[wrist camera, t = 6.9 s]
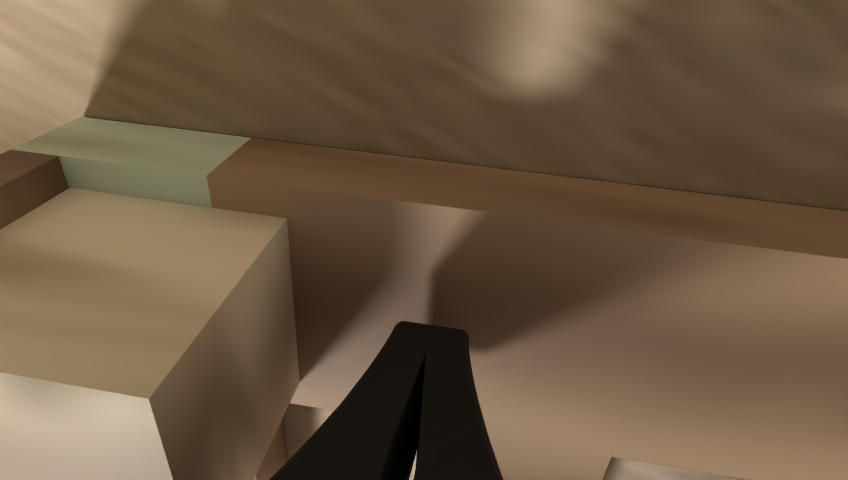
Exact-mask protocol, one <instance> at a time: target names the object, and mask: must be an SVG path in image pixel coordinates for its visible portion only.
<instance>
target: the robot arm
mask: <svg viewBox="0 0 848 480" xmlns="http://www.w3.org/2000/svg"><path fill="white" fill-rule="evenodd" d="M416 451H417V459H416V470H415V475H414V480H503V477H502V474H501V471H500V469H499V466H498V463H497V460H496V457H495V454H494V451H493V448H492V445H491V442H490V439H489V436H488V432H487V429H486V426H485V422H484V418H483V415H482V411H481V408H480V404H479V400H478V396H477V392H476V388H475V383H474V378H473V373H472V367H471V360H470V352H469V335H468V334H467V332H466V331H465V330H462V329H455V328H448V327H442V326H435V325H428V324H421V323H414V322H408V321H401V322H399V323H397V324H396V325H395V327H394V329H393V331H392V333H391V334H390V336H389V338H388V339H387V341H386V343H385V344H384V346H383V347H382V349H381V350H380V352H379V353H378V355H377V356H376V358H375V359H374V360H373V362H372V363H371V365H370V366H369V368H368V369H367V370H366V372H365V373H364V374H363V375H362V377H361V378H360V379H359V381H358V382H357V383H356V385H355V386H354V387H353V388H352V390H351V391H350V392H349V394H348V395H347V396H346V397H345V399H344V400H343V401H342V402H341V404H340V405H339V406H338V407H337V408H336V409H335V410H334V412H333V413H332V414H331V415H330V416H329V417H328V418H327V420H326V421H325V422H324V423H323V424H322V425H321V426H320V428H319V429H318V430H317V431H316V432H315V433H314V434H313V436H312V437H311V438H310V439H309V440H308V441H307V442H306V443H305V444H304V445H303V446H302V447H301V448H300V449H299V450H298V451H297V452H296V453H295V455H294V456H293V457H292V458H291V459H290V460H289V461H288V462H287V463H286V464H285V465H284V466H282V467H281V468H280V469H279V470H278V471H277V472H276V473H275V474H274V475H273V476H272V477H271V478H270V479H269V480H409V477H410V474H411V470H412V466H413V463H414V459H415V455H416Z"/></svg>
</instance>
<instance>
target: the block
mask: <svg viewBox="0 0 848 480" xmlns="http://www.w3.org/2000/svg"><path fill="white" fill-rule="evenodd" d="M299 382H300V381H299V368H298V355H297V342H296V329H295V316H294V303H293V289H292V276H291V263H290V250H289V237H288V224H287V218H282V217H275V216H268V215H261V214H254V213H247V212H240V211H233V210H226V209H219V208H212V207H205V206H198V205H191V204H184V203H177V202H169V201H162V200H155V199H148V198H141V197H134V196H127V195H120V194H113V193H106V192H99V191H92V190H85V189H78V188H71V187H70V188H68V189H67V190H65V191H63V192H62V193H60V194H58V195H57V196H55V197H54V198H52V199H50V200H49V201H47V202H45V203H44V204H42V205H40V206H39V207H37V208H35V209H34V210H32V211H30V212H29V213H27V214H25V215H24V216H22V217H20V218H19V219H17V220H15V221H14V222H12V223H10V224H9V225H7V226H6V227H4V228H2V229H1V230H0V480H254V479H255V476H256V474H257V472H258V470H259V468H260V466H261V464H262V461H263V459H264V457H265V455H266V453H267V451H268V449H269V447H270V444H271V442H272V440H273V438H274V436H275V434H276V432H277V429H278V427H279V425H280V423H281V421H282V419H283V417H284V415H285V412H286V410H287V408H288V406H289V404H290V402H291V400H292V397H293V395H294V393H295V391H296V389H297V387H298V385H299Z"/></svg>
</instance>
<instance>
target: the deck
mask: <svg viewBox="0 0 848 480" xmlns="http://www.w3.org/2000/svg"><path fill="white" fill-rule="evenodd" d="M70 187H71V188H78V189H85V190H92V191H99V192H106V193H113V194H120V195H127V196H134V197H141V198H148V199H155V200H162V201H169V202H177V203H184V204H191V205H198V206H205V207H212V208H219V209H226V210H233V211H240V212H247V213H254V214H261V215H268V216H275V217H282V218H287V224H288V237H289V250H290V263H291V276H292V289H293V303H294V316H295V329H296V342H297V355H298V368H299V381H300V382H299V385H298V387H297V389H296V391H295V393H294V395H293V397H292V400H291V402H290V403H292V404H298V405H304V406H310V407H316V408H322V409H328V410H335V409H336V408H337V407H338V406H339V405H340V404H341V402H342V401H343V400H344V399H345V397H346V396H347V395H348V394H349V392H350V391H351V390H352V388H353V387H354V386H355V385H356V383H357V382H358V381H359V379H360V378H361V377H362V375H363V374H364V373H365V372H366V370H367V369H368V368H369V366H370V365H371V363H372V362H373V360H374V359H375V358H376V356H377V355H378V353H379V352H380V350H381V349H382V347H383V346H384V344H385V343H386V341H387V339H388V338H389V336H390V334H391V333H392V331H393V329H394V327H395V325H396V324H397V323H399V322H401V321H408V322H414V323H421V324H428V325H435V326H442V327H448V328H455V329H462V330H465V331H466V332H467V334H468V335H469V352H470V360H471V367H472V373H473V378H474V383H475V388H476V392H477V396H478V400H479V404H480V408H481V411H482V415H483V418H484V422H485V426H486V429H487V432H488V436H489V439H490V442H491V445H492V448H493V451H494V454H495V457H496V460H497V463H498V466H499V469H500V471H501V474H502V477H503V480H602V479H603V476H604V474H605V471H606V469H607V467H608V464H609V462H610V459H611V457H615V458H621V459H627V460H633V461H639V462H645V463H651V464H657V465H663V466H669V467H675V468H681V469H687V470H693V471H699V472H705V473H711V474H717V475H723V476H729V477H735V478H741V479H747V480H848V211H842V210H834V209H825V208H817V207H809V206H801V205H793V204H785V203H777V202H769V201H761V200H752V199H744V198H736V197H728V196H720V195H712V194H704V193H696V192H687V191H679V190H671V189H663V188H655V187H647V186H639V185H631V184H622V183H614V182H606V181H598V180H590V179H582V178H574V177H566V176H558V175H549V174H541V173H533V172H525V171H517V170H509V169H501V168H493V167H484V166H476V165H468V164H460V163H452V162H444V161H436V160H428V159H419V158H411V157H403V156H395V155H387V154H379V153H371V152H363V151H355V150H346V149H338V148H330V147H322V146H314V145H306V144H298V143H290V142H281V141H273V140H265V139H257V138H249V137H241V136H233V135H225V134H217V133H208V132H200V131H192V130H184V129H176V128H168V127H160V126H152V125H143V124H135V123H127V122H119V121H111V120H103V119H95V118H87V117H81V118H78V119H76V120H74V121H72V122H70V123H68V124H65V125H63V126H61V127H59V128H57V129H55V130H52V131H50V132H48V133H46V134H44V135H42V136H39V137H37V138H35V139H33V140H31V141H29V142H27V143H24V144H22V145H20V146H18V147H16V148H14V149H11V150H9V151H7V152H5V153H3V154H1V155H0V230H1V229H2V228H4V227H6V226H7V225H9V224H10V223H12V222H14V221H15V220H17V219H19V218H20V217H22V216H24V215H25V214H27V213H29V212H30V211H32V210H34V209H35V208H37V207H39V206H40V205H42V204H44V203H45V202H47V201H49V200H50V199H52V198H54V197H55V196H57V195H58V194H60V193H62V192H63V191H65V190H67V189H68V188H70ZM286 463H287V457H286V448H285V438H284V429H283V420H282V421H281V423H280V425H279V427H278V429H277V432H276V434H275V436H274V438H273V440H272V442H271V444H270V447H269V449H268V451H267V453H266V455H265V457H264V459H263V461H262V464H261V466H260V468H259V470H258V472H257V474H256V476H255V479H254V480H269V479H270V478H271V477H272V476H273V475H274V474H275V473H276V472H277V471H278V470H279V469H280V468H281V467H282V466H284V465H285V464H286Z"/></svg>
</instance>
